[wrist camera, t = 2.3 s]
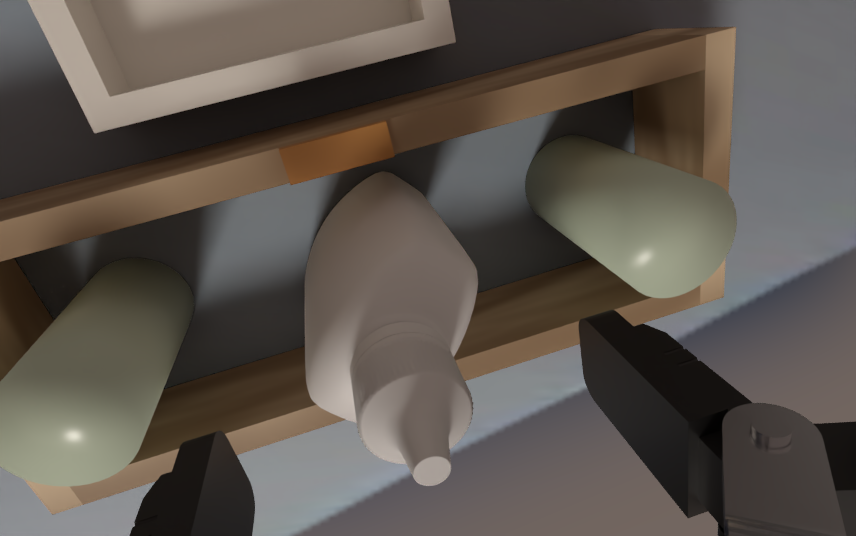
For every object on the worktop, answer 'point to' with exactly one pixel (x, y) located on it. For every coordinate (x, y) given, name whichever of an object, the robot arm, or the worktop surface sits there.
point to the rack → (360, 145)
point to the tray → (221, 47)
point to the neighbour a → (95, 376)
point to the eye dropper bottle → (390, 324)
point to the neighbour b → (633, 213)
